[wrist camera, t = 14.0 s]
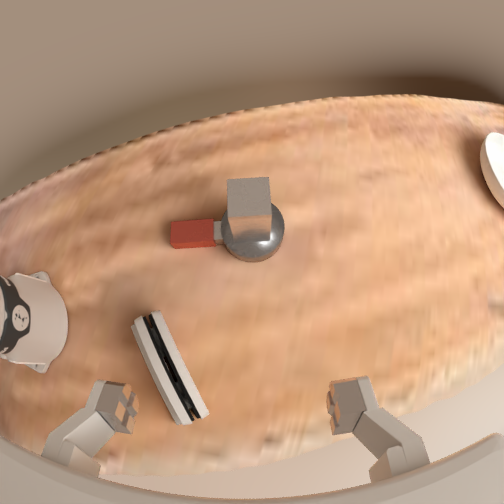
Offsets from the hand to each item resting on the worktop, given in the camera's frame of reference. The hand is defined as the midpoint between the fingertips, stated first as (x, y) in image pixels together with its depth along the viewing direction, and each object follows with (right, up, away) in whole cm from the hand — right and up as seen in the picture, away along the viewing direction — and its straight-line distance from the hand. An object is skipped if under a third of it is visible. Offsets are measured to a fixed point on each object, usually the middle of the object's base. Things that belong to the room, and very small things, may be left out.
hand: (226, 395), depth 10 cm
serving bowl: (+59, +21, +35) cm, 71 cm away
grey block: (+1, +9, +30) cm, 32 cm away
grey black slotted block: (-10, -11, +28) cm, 32 cm away
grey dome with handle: (-3, +8, +33) cm, 34 cm away
